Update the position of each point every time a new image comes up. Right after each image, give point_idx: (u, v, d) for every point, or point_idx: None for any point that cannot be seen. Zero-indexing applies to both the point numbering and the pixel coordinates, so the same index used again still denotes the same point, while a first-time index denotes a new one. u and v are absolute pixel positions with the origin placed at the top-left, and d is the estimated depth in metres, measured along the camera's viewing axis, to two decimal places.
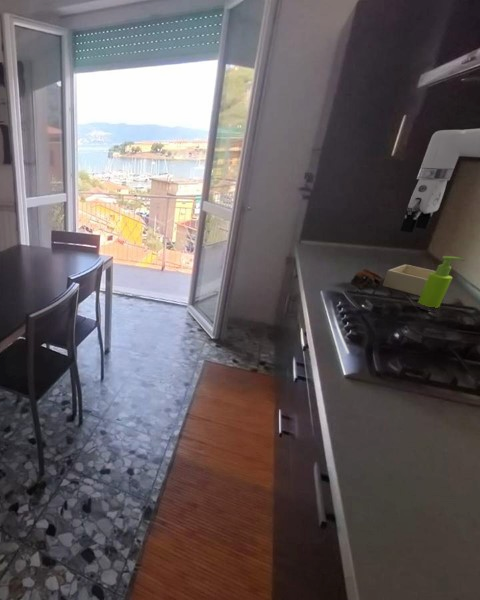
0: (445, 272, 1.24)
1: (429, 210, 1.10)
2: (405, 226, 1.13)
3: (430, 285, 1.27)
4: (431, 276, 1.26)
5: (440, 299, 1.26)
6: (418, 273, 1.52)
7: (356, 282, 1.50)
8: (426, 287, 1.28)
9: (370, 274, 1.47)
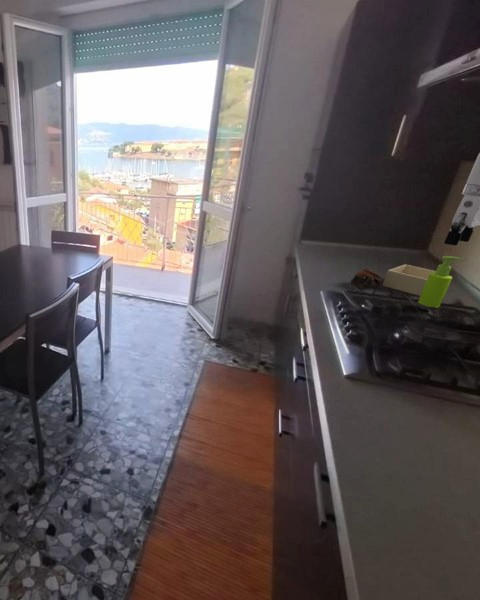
0: (445, 272, 1.24)
1: (474, 224, 1.15)
2: (449, 239, 1.18)
3: (430, 285, 1.27)
4: (431, 276, 1.26)
5: (440, 299, 1.26)
6: (418, 273, 1.52)
7: (356, 282, 1.50)
8: (426, 287, 1.28)
9: (370, 274, 1.47)
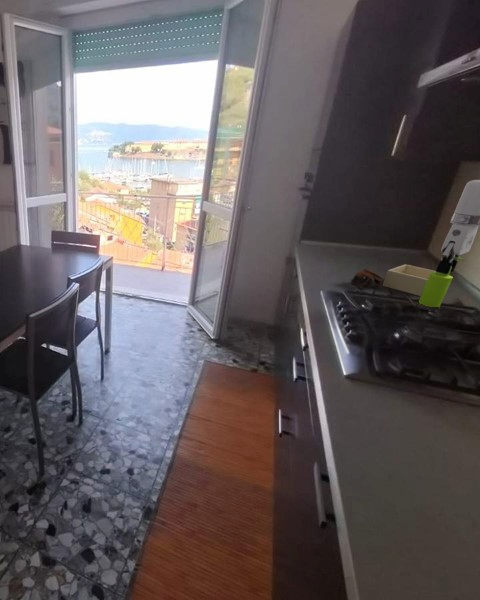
0: None
1: (462, 252, 1.18)
2: (441, 268, 1.23)
3: (429, 284, 1.27)
4: (431, 275, 1.27)
5: (440, 299, 1.26)
6: (418, 273, 1.52)
7: (356, 282, 1.50)
8: (426, 287, 1.28)
9: (370, 274, 1.47)
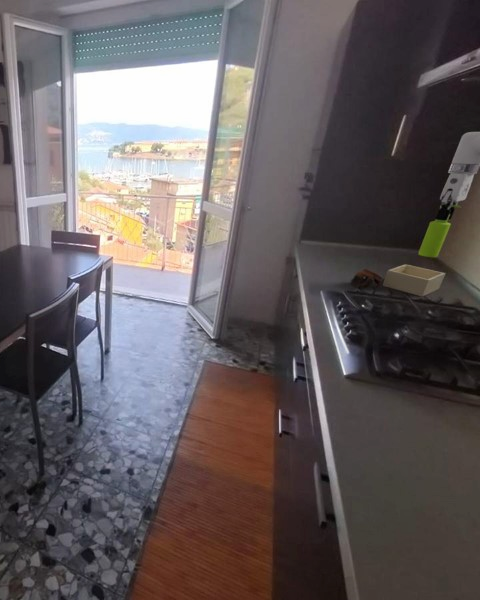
0: None
1: (459, 199, 1.31)
2: (440, 215, 1.36)
3: (430, 232, 1.40)
4: (431, 223, 1.39)
5: (439, 245, 1.39)
6: (418, 273, 1.52)
7: (356, 282, 1.50)
8: (427, 234, 1.41)
9: (370, 274, 1.47)
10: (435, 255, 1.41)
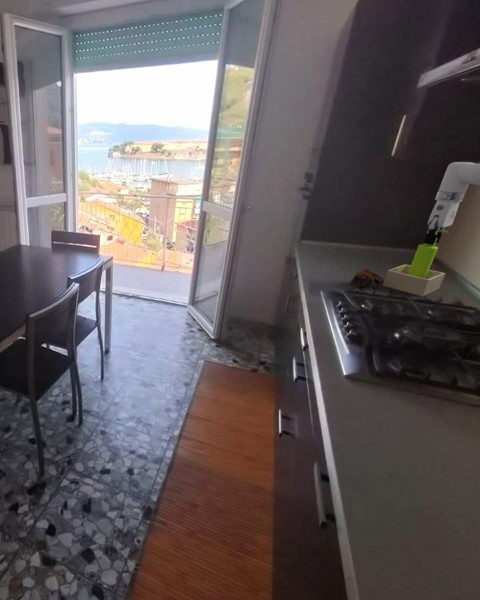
0: None
1: (445, 225, 1.37)
2: (427, 239, 1.42)
3: (418, 254, 1.46)
4: (419, 247, 1.45)
5: (427, 267, 1.45)
6: None
7: (356, 282, 1.50)
8: (415, 257, 1.47)
9: (370, 274, 1.47)
10: (423, 277, 1.47)
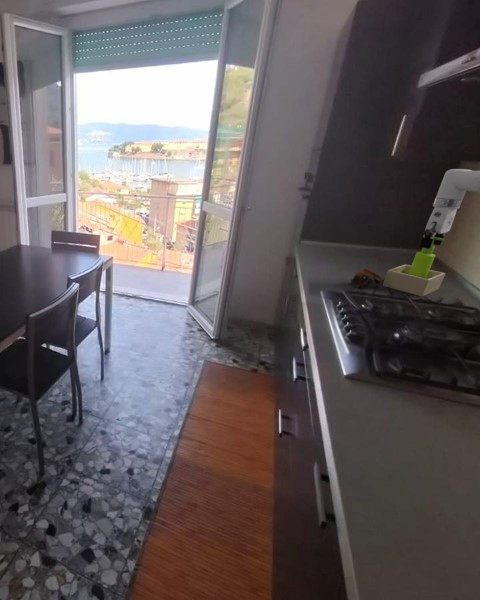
0: (429, 251, 1.44)
1: (443, 231, 1.38)
2: (423, 243, 1.41)
3: (416, 262, 1.47)
4: (417, 254, 1.47)
5: (425, 274, 1.47)
6: None
7: (356, 282, 1.50)
8: (413, 264, 1.49)
9: (370, 274, 1.47)
10: None
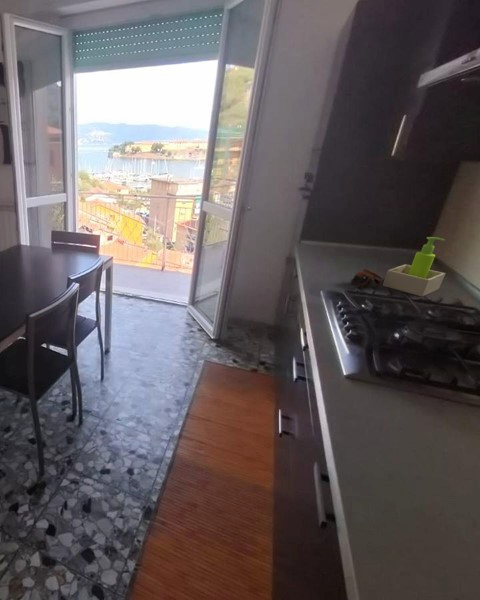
0: (429, 251, 1.44)
1: None
2: None
3: (415, 262, 1.47)
4: (417, 254, 1.47)
5: (424, 274, 1.47)
6: None
7: (356, 282, 1.50)
8: (413, 264, 1.49)
9: (370, 274, 1.47)
10: None
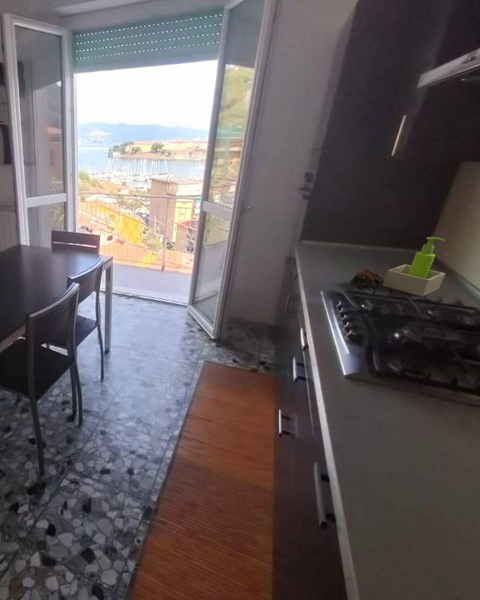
0: (429, 251, 1.44)
1: None
2: None
3: (415, 262, 1.47)
4: (417, 254, 1.47)
5: (424, 274, 1.47)
6: None
7: (356, 282, 1.50)
8: (413, 264, 1.49)
9: (370, 274, 1.47)
10: None
